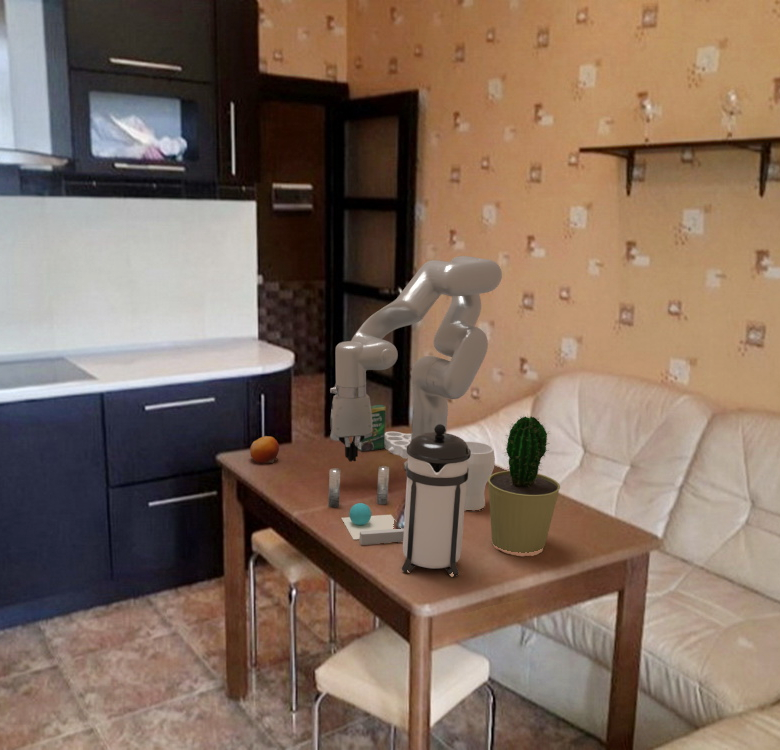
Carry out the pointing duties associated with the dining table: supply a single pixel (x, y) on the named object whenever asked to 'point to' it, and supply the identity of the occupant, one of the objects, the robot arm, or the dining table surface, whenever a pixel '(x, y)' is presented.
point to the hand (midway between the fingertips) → (351, 459)
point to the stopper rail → (381, 536)
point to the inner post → (382, 485)
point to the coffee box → (375, 430)
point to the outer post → (334, 487)
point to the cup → (478, 474)
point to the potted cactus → (522, 491)
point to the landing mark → (369, 525)
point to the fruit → (264, 450)
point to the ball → (360, 514)
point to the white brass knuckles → (397, 443)
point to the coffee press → (435, 500)
